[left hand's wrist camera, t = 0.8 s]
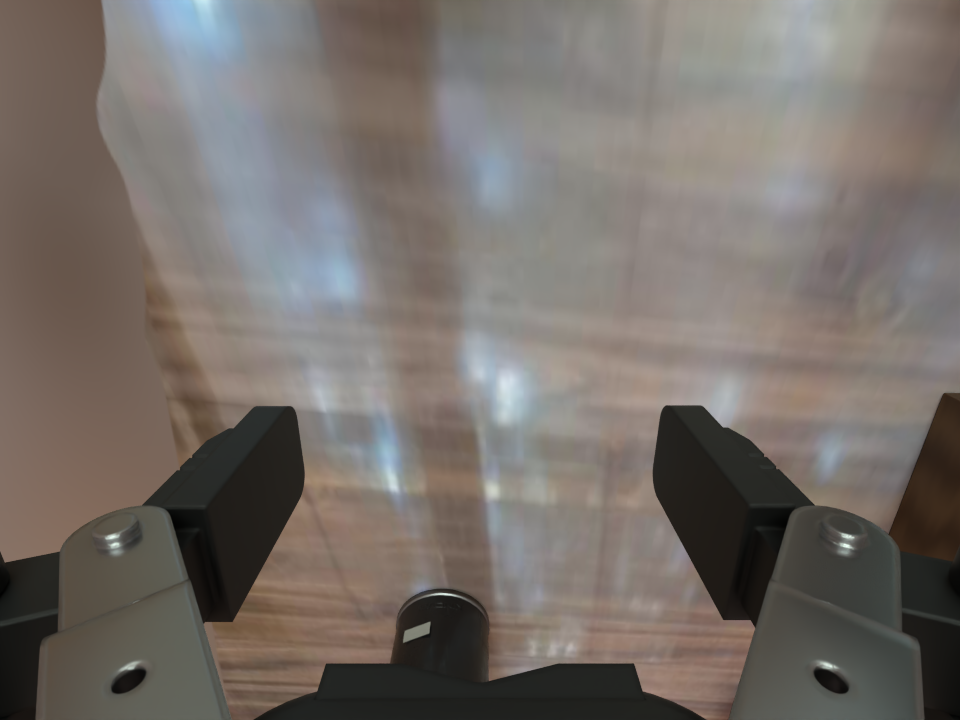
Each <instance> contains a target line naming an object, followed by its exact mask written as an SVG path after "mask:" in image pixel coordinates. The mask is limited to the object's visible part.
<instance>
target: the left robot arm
mask: <svg viewBox="0 0 960 720" xmlns="http://www.w3.org/2000/svg"><path fill="white" fill-rule="evenodd" d="M304 478H305V471H304V463H303V456H302V449H301V442H300V435H299V428H298V421H297V415H296V412H295V410H294V408H293V407H291V406H256V407H254V408H253V409H252V410H251V411H250V412H249V413H248V414H247V415H246V416H245V417H244V418H243V419H242V420H241V421H240V422H239V423H238V424H237V425H236V427H235V428H229V429H227V430H225V431H224V432H222V433H220V434H218V435H216V436H215V437H213V438H211V439H209V440H207V441H206V442H205V443H204V444H203V445H202V446H201V447H200V448H199V449H198V450H197V451H196V452H195V453H194V454H193V455H192V458H189V459H188V460H187V461H186V462H185V463H184V464H183V465H182V466H181V467H180V470H177V471H176V472H175V473H174V474H173V475H172V476H171V477H170V478H169V479H168V480H167V481H166V482H165V483H164V484H163V485H162V486H161V487H160V488H159V489H158V490H157V491H156V492H155V493H154V494H153V495H152V496H151V497H150V498H149V499H148V500H147V501H146V502H145V503H144V504H143V505H142V506H134V507H129V508H124V509H120V510H116V511H113V512H110V513H108V514H105V515H103V516H100V517H98V518H96V519H94V520H92V521H90V522H88V523H87V524H85V525H84V526H82V527H80V528H79V529H78V530H76V531H75V532H74V533H73V534H72V535H71V536H70V537H68V539H67V540H66V541H65V542H64V544H63V545H62V547H61V550H60V552H56V553H51V554H46V555H41V556H36V557H31V558H26V559H22V560H16V561H11V562H6V563H5V562H4V560H3V557H2V555H1V552H0V720H232V719H231V716H230V713H229V709H228V706H227V702H226V699H225V696H224V692H223V689H222V686H221V682H220V679H219V675H218V672H217V669H216V665H215V662H214V659H213V655H212V652H211V648H210V645H209V642H208V638H207V635H206V631H205V628H204V625H203V624H204V623H205V622H233V620H234V618H235V616H236V615H237V613H238V611H239V609H240V607H241V605H242V604H243V602H244V600H245V598H246V596H247V594H248V593H249V591H250V589H251V587H252V585H253V584H254V582H255V580H256V578H257V576H258V574H259V573H260V571H261V569H262V567H263V565H264V563H265V562H266V560H267V558H268V556H269V554H270V552H271V551H272V549H273V547H274V545H275V543H276V541H277V540H278V538H279V536H280V534H281V532H282V530H283V529H284V527H285V525H286V523H287V521H288V519H289V518H290V516H291V514H292V512H293V510H294V508H295V507H296V505H297V503H298V501H299V499H300V497H301V495H302V491H303V487H304ZM653 484H654V489H655V493H656V496H657V498H658V500H659V502H660V503H661V505H662V507H663V509H664V511H665V513H666V515H667V516H668V518H669V520H670V522H671V524H672V526H673V527H674V529H675V531H676V533H677V535H678V537H679V539H680V540H681V542H682V544H683V546H684V548H685V550H686V552H687V553H688V555H689V557H690V559H691V561H692V563H693V565H694V566H695V568H696V570H697V572H698V574H699V576H700V577H701V579H702V581H703V583H704V585H705V587H706V589H707V590H708V592H709V594H710V596H711V598H712V600H713V602H714V603H715V605H716V607H717V609H718V611H719V613H720V615H721V616H722V618H723V620H751V621H752V623H753V625H754V626H755V631H754V635H753V638H752V642H751V645H750V648H749V652H748V655H747V659H746V662H745V665H744V669H743V672H742V675H741V679H740V682H739V686H738V689H737V692H736V696H735V699H734V702H733V706H732V709H731V713H730V716H729V719H728V720H960V546H959V548H958V550H957V553H956V555H955V558H954V560H953V561H948V560H943V559H938V558H933V557H928V556H923V555H918V554H913V553H908V552H903V551H900V550H899V547H898V545H897V544H896V542H895V541H894V540H893V539H892V537H890V536H889V535H888V534H887V533H886V532H885V531H884V530H882V529H881V528H880V527H878V526H876V525H875V524H873V523H872V522H870V521H868V520H866V519H864V518H862V517H860V516H857V515H855V514H852V513H850V512H847V511H844V510H840V509H836V508H832V507H826V506H815V505H814V504H813V503H812V502H811V501H810V500H809V499H808V498H807V497H806V496H805V495H804V494H803V493H802V492H801V491H800V490H799V489H798V488H797V487H796V486H795V485H794V484H793V483H792V482H791V481H790V480H789V479H788V478H787V477H786V476H785V475H784V474H783V473H782V472H781V471H780V470H779V469H776V466H775V465H774V464H773V463H772V462H771V461H770V460H769V459H768V458H767V457H764V454H763V453H762V452H761V451H760V450H759V449H758V448H757V447H756V446H755V445H754V444H753V443H752V442H751V441H750V440H749V439H747V438H746V437H744V436H742V435H740V434H738V433H737V432H735V431H733V430H731V429H729V428H723V427H722V426H721V425H720V424H719V423H718V422H717V421H716V420H715V419H714V417H713V416H712V415H711V414H710V413H709V412H708V411H707V410H706V409H705V408H704V407H703V406H665V407H664V408H663V409H662V412H661V415H660V422H659V429H658V436H657V443H656V450H655V457H654V464H653ZM488 635H489V619H488V615H487V613H486V611H485V609H484V608H483V606H482V605H481V604H480V603H479V602H478V601H477V600H476V599H474V598H473V597H471V596H469V595H467V594H465V593H462V592H459V591H456V590H450V589H433V590H428V591H424V592H421V593H419V594H417V595H415V596H413V597H412V598H410V599H409V600H408V601H406V603H405V604H404V605H403V606H402V607H401V609H400V611H399V614H398V618H397V623H396V635H395V640H394V646H393V650H392V656H391V661H390V664H326V666H325V669H324V672H323V675H322V678H321V682H320V685H319V688H318V691H317V692H314V693H310V694H307V695H304V696H301V697H299V698H296V699H293V700H290V701H288V702H286V703H284V704H282V705H279V706H277V707H275V708H273V709H271V710H269V711H267V712H266V713H264V714H262V715H261V716H259V717H257V718H256V719H254V720H706V719H704V718H703V717H701V716H699V715H698V714H696V713H694V712H693V711H691V710H689V709H687V708H685V707H683V706H681V705H678V704H676V703H674V702H672V701H670V700H667V699H664V698H661V697H659V696H656V695H653V694H650V693H646V692H643V691H642V688H641V685H640V682H639V678H638V675H637V672H636V669H635V666H634V664H555V665H551V666H547V667H543V668H539V669H535V670H531V671H527V672H524V673H520V674H516V675H512V676H508V677H504V678H500V679H496V680H492V681H489V665H488V659H489V656H488Z"/></svg>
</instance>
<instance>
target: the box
mask: <svg viewBox="0 0 960 720" xmlns="http://www.w3.org/2000/svg"><path fill="white" fill-rule="evenodd" d="M889 536H890V537H892V539H893V540H894V541H895V542H896V544H897V545H898V547H899V550H900V551H903V552H908V553H913V554H918V555H923V556H928V557H933V558H938V559H943V560H948V561H953V560H954V558H955V555H956V553H957V550H958V548H959V546H960V393H944V394H943V397H942V399H941V402H940V404H939V407H938V410H937V412H936V415H935V417H934V420H933V423H932V425H931V428H930V430H929V433H928V435H927V438H926V441H925V443H924V446H923V448H922V451H921V453H920V456H919V459H918V461H917V464H916V466H915V469H914V471H913V474H912V477H911V479H910V482H909V484H908V487H907V489H906V492H905V495H904V497H903V500H902V502H901V505H900V507H899V510H898V513H897V515H896V518H895V520H894V523H893V525H892V528H891V531H890V533H889Z"/></svg>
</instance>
